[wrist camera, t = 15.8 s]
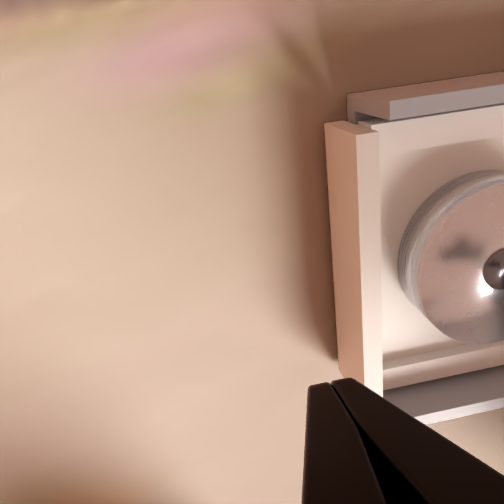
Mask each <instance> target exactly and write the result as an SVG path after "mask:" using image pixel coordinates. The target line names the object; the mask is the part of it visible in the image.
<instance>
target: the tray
mask: <svg viewBox="0 0 504 504" xmlns="http://www.w3.org/2000/svg"><path fill="white" fill-rule="evenodd" d="M324 128H325V145H326V162H327V178H328V195H329V212H330V228H331V245H332V262H333V279H334V295H335V312H336V329H337V346H338V362H339V370H340V372H341V374H342V376H343V378H353V379H355V380H357V381H358V382H360V383H361V384H363V385H365V386H366V387H368V388H369V389H371V390H372V391H374V392H375V393H377V394H378V395H380V396H382V397H383V390H387V389H392V388H397V387H401V386H406V385H411V384H415V383H420V382H425V381H430V380H434V379H439V378H444V377H448V376H453V375H458V374H462V373H467V372H472V371H476V370H481V369H486V368H490V367H495V366H500V365H504V341H500V342H496V343H489V344H470V343H464V342H460V341H457V340H454V339H452V338H450V337H448V336H446V335H445V334H443V333H442V332H441V331H440V330H438V329H437V328H436V327H435V326H434V325H433V324H432V323H431V322H430V321H429V320H428V319H427V318H426V317H425V316H424V315H423V314H422V313H421V312H420V311H419V310H418V309H417V308H416V307H415V306H414V305H413V304H412V303H411V302H410V301H409V299H408V298H407V297H406V295H405V293H404V291H403V290H402V287H401V284H400V281H399V277H398V269H397V259H398V251H399V246H400V242H401V239H402V236H403V233H404V231H405V229H406V227H407V225H408V223H409V221H410V219H411V218H412V216H413V215H414V213H415V212H416V211H417V209H418V208H419V207H420V205H421V204H422V203H423V202H424V201H425V200H426V199H427V198H428V197H429V196H430V195H431V194H432V193H434V192H435V191H436V190H437V189H439V188H440V187H441V186H443V185H445V184H446V183H448V182H449V181H451V180H453V179H455V178H457V177H459V176H462V175H465V174H468V173H471V172H475V171H480V170H503V171H504V103H499V104H493V105H486V106H480V107H473V108H467V109H460V110H454V111H447V112H440V113H434V114H427V115H421V116H414V117H408V118H401V119H395V120H387V119H383V118H376V119H370V120H363V121H358V125H357V124H354V123H351V122H347V121H344V120H341V121H335V122H328V123H324Z"/></svg>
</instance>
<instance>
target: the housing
mask: <svg viewBox="0 0 504 504" xmlns="http://www.w3.org/2000/svg"><path fill="white" fill-rule="evenodd" d="M499 103H504V71H502V72H495V73H488V74H481V75H474V76H467V77H460V78H454V79H447V80H440V81H433V82H426V83H419V84H412V85H405V86H399V87H392V88H385V89H378V90H371V91H364V92H357V93H350V94H347V117H348V122H351V123H354V124H357V125H358V121H363V120H370V119H376V118H383V119H387V120H395V119H401V118H408V117H414V116H421V115H427V114H434V113H440V112H447V111H454V110H460V109H467V108H473V107H480V106H486V105H493V104H499ZM383 398H385V399H386V400H388V401H389V402H391V403H392V404H394V405H395V406H397V407H399V408H400V409H402V410H403V411H405V412H406V413H408V414H409V415H411V416H412V417H414V418H416V419H417V420H419V421H420V422H422V423H423V424H425V425H428V424H432V423H437V422H441V421H446V420H450V419H455V418H459V417H464V416H468V415H473V414H477V413H482V412H486V411H491V410H495V409H499V408H504V365H500V366H495V367H490V368H486V369H481V370H476V371H472V372H467V373H462V374H458V375H453V376H448V377H444V378H439V379H434V380H430V381H425V382H420V383H415V384H411V385H406V386H401V387H397V388H392V389H387V390H383Z"/></svg>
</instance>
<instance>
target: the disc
mask: <svg viewBox="0 0 504 504" xmlns="http://www.w3.org/2000/svg"><path fill="white" fill-rule="evenodd" d="M397 269H398V277H399V281H400V284H401V287H402V290H403V291H404V293H405V295H406V297H407V298H408V299H409V301H410V302H411V303H412V304H413V305H414V306H415V307H416V308H417V309H418V310H419V311H420V312H421V313H422V314H423V315H424V316H425V317H426V318H427V319H428V320H429V321H430V322H431V323H432V324H433V325H434V326H435V327H436V328H437V329H438V330H440V331H441V332H442V333H443V334H445V335H446V336H448V337H450V338H452V339H454V340H457V341H460V342H464V343H470V344H489V343H496V342H500V341H504V171H503V170H480V171H475V172H471V173H468V174H465V175H462V176H459V177H457V178H455V179H453V180H451V181H449V182H448V183H446V184H445V185H443V186H441V187H440V188H439V189H437V190H436V191H435V192H434V193H432V194H431V195H430V196H429V197H428V198H427V199H426V200H425V201H424V202H423V203H422V204H421V205H420V207H419V208H418V209H417V211H416V212H415V213H414V215H413V216H412V218H411V219H410V221H409V223H408V225H407V227H406V229H405V231H404V233H403V236H402V239H401V242H400V246H399V251H398V259H397Z"/></svg>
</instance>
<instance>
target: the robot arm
mask: <svg viewBox="0 0 504 504" xmlns="http://www.w3.org/2000/svg"><path fill="white" fill-rule="evenodd" d="M302 504H504V475H502V474H500V473H499V472H497V471H496V470H494V469H493V468H491V467H490V466H488V465H487V464H485V463H483V462H482V461H480V460H479V459H477V458H476V457H474V456H473V455H471V454H470V453H468V452H466V451H465V450H463V449H462V448H460V447H459V446H457V445H456V444H454V443H453V442H451V441H450V440H448V439H446V438H445V437H443V436H442V435H440V434H439V433H437V432H436V431H434V430H433V429H431V428H429V427H428V426H426V425H425V424H423V423H422V422H420V421H419V420H417V419H416V418H414V417H412V416H411V415H409V414H408V413H406V412H405V411H403V410H402V409H400V408H399V407H397V406H395V405H394V404H392V403H391V402H389V401H388V400H386V399H385V398H383V397H382V396H380V395H378V394H377V393H375V392H374V391H372V390H371V389H369V388H368V387H366V386H365V385H363V384H361V383H360V382H358V381H357V380H355V379H353V378H344V379H339V380H334V381H332V382H331V384H330V383H327V382H325V383H320V384H315V385H311V386H309V388H308V396H307V414H306V432H305V450H304V469H303V487H302Z"/></svg>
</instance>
